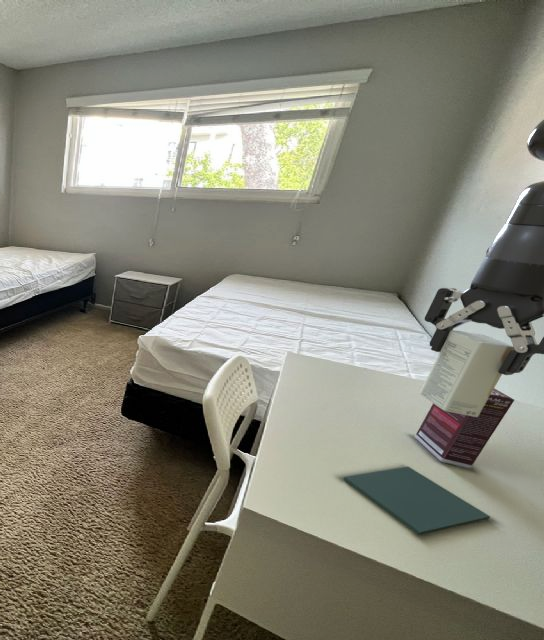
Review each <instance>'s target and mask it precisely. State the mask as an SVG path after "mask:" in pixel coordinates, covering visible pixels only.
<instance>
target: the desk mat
mask: <svg viewBox="0 0 544 640" xmlns="http://www.w3.org/2000/svg"><path fill="white" fill-rule="evenodd" d="M343 481H345V482H346V483H348V484H349V485H350V486H352V487H353V488H354V489H355V490H357V491H359V492H360V493H361V494H362V495H364V496H365V497H366V498H368V499H369V500H370V501H372V502H373V503H374V504H376V505H377V506H379V507H380V508H382V510H384V511H385V512H387V513H388V514H389V515H391V516H392V517H394V518H395V519H396V520H397V521H399V522H400V523H402V524H403V525H405V527H407V528H408V529H410V530H411V531H412V532H413V533H415V534H417V535H418V536H421V535H425V534H430V533H433V532H439V531H443V530H447V529H451V528H456V527H460V526H464V525H468V524H473V523H478V522H481V521H486V520H489V519H490V518H491V516H490V515H489V514H488V513H486V512H484V511H482V510H480V509H479V508H477V507H476V506H474V505H472V504H471V503H470V502H469V503H468V501H466V500H465V499H462V498H460V497H459V496H458V495H455V494H454V493H453V492H451V491H449V490H448V489H446V488H445V487H443V486H441V485H440V484H437V483H436V482H434V481H433V480H431V479H430V478H428V477H426V476H424V475H423V474H421V473H419V472H418V471H416V470H414V469H413V468H411V467H410V466H403V467H397V468H391V469H385V470H379V471H378V470H377V471H371V472H366V473H365V472H364V473H360V474H359V473H358V474H353V475H347V476H344V477H343Z"/></svg>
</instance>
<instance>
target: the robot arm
mask: <svg viewBox="0 0 544 640" xmlns="http://www.w3.org/2000/svg"><path fill="white" fill-rule="evenodd" d="M526 147H527V151H528V153H529V154H530V155H531V156H532V157H533V158H535V159H537V160H539V161H542V162H544V119H542V120H541V121H540V122H539V123H538V124H536V126H535V127H534V128H533V129H532V131H531V132H530V134H529V136H528V139H527V142H526ZM485 253H486V254H485V256H484V258H483V259H482V261H481V263H480V265H479V267H478V269H477V271H476V273H475V275H474V277H473V279H472V280H471V282H470V286H469V288H467V289H466V290H465V291H464V290H458V289H457V288H455V287H441V288H438V290H437V291H436V293H435V295H434V298H433V300H432V301H431V304H430V306H429V308H428V310H427V312H426V314H425V316H424V321H425V322H427V323H430V324H432V325H433V326H434V327H435V331H434V333H433V335H432V337H431V339H430V341H429V347H431V348H430V350H431V351H432V352H436V353H440V351H441V349H442V347H443V345H444V343H445V341H446V339H447V337H448V334H449V332H450V331H451V330H454V329H457V328H458V327H460V326H462V325H464V324H467V323H470V322H474V323H477V324H485V325H488V326H490V327H491V328H494V329H495V328H496V329H502V330H503V329H504V330H505V334H506V336H507V337H508V338H509V339H510V341H511V343H512V344H511V345H512V346H513V347H514V349H515V350H514V351H510V353H509V354H508V356H507V358H506V359H505V361H504V363H503V364H502V366H501V368H500V369H499V371H498V373H501V374H502V375H504V376H511V375H514V374H519V373H521V372H523V371H524V369H525V368H526V366H527V365H528V363H529V362H530V360H531V359H532V357H533V356H534V355H535V354H538V355H544V336H543V337H542V339H541V340H540V342H539V343H537V340H536V337H535V336H536V332H535V328H534V326H533V323H532V322H533V321H537V320H539V319H541V318H543V317H544V180H542V181H538V182H535V183H532V184H530V185H528V186H527V187H525V188H524V189H523V190H522V192H521V193H520V195H519V197H518V198H517V199H516V202H515V204H514V206H513V208H512V209H511V211H510V213H509V215H508V217H507V219H506V221H505V223H504V225H503V226H502V228H501V229H500V230H499V232H498V233H497V234H496V236H495V237H494V239H493V241H492V242H491V244H490V246H488V248H487V250H486V252H485ZM458 300H461V303H462V306H463V308H461V309H460V310H458V311H456V312H454V313H452V314H450V315H449V316H448V317H447V318H446V316H447V314H448V313H449V310H450V308H451V306H452V304H453V303H457V301H458Z"/></svg>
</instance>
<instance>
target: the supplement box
mask: <svg viewBox="0 0 544 640" xmlns="http://www.w3.org/2000/svg"><path fill="white" fill-rule="evenodd" d="M514 402H515V399H514V398H512V397H511V396H509V395H507V394H505V393H503V392H502V391H500V390H498V389H497V388H494V389H493V391H492V393H491V395H490V396H489V398H488V400H487V402H486V403H485V405H484V407H483V409H482V410H481V412H480V414H479V416H478V417H473V416H468V415H463V414H458V413H453V412H447V411H444V410H442V409H441V408H439V407H438V406H436V405H435V404H434V403H432V405H430V407H429V410H428V412H427V414H426V415H425V417H424V419H423V421H422V422H421V425H420V427H419V428H418V430H417V432H416V434H415V435H414V438H415V439H416V440H417V441H418V442H419V443H420V444H421V445H422V446H424V447H425V449H427V450H428V451H429V452H430V453H431V454H432V455H433V456H434V457H435V458H437V459H438V460H439V462H440V463H441V462H442V463H445V464H449V465H452V466H455V467H461V468H465V469H471V468H472V467H473V465H474V464H475V462H476V461H477V459H478V457H479V456H480V454H481V453H482V451H483V450H484V448H485V446H486V445H487V444H488V442H489V440H490V439H491V437H492V436H493V434H494V433H495V431H496V430H497V428H498V427H499V425H500V423H501V422H502V420H503V419H504V417H505V415H506V414H507V413H508V411H509V410H510V408H511V406H512V405H513V403H514Z"/></svg>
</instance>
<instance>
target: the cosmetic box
mask: <svg viewBox="0 0 544 640" xmlns="http://www.w3.org/2000/svg"><path fill="white" fill-rule="evenodd" d="M514 350H515V349H514V347H513V344H509V343H507V342H503V341H501V340H499V339H496V338H493V337H491V336H487V335H485V334H481V333H475V332H468V331H462V330H454V329H453V330H451V331H450V332H449V334H448V337H447V339H446V341H445V343H444V345H443V347H442V349H441V351H440V352H438V354H437V357H436V359H435V361H434V362H433V365H432V367H431V369H430V371H429V373H428V375H427V377H426V379H425V381H424V383H423V385H422V387H421V389H420V391H419V395H420V396H421V397H423V398H425V399H426V400H428V401H429V402H431V403H432V404H433V403H434V404H435V405H436V406H438V407H439V408H441V409H442V410H444V411H447V412H453V413H458V414H463V415H468V416H473V417H478V416H479V414H480V412H481V410H482V409H483V407H484V405H485V403H486V402H487V400H488V398H489V396H490V395H491V393H492V391H493V389H496V386H497V384H498V383H499V381H500V380H501V379H500V378H501V377H502V375H503V374H501V373H498V371H499V369H500V368H501V366H502V364H503V363H504V361H505V359H506V358H507V356H508V354H509V353H510V351H514Z"/></svg>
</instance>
